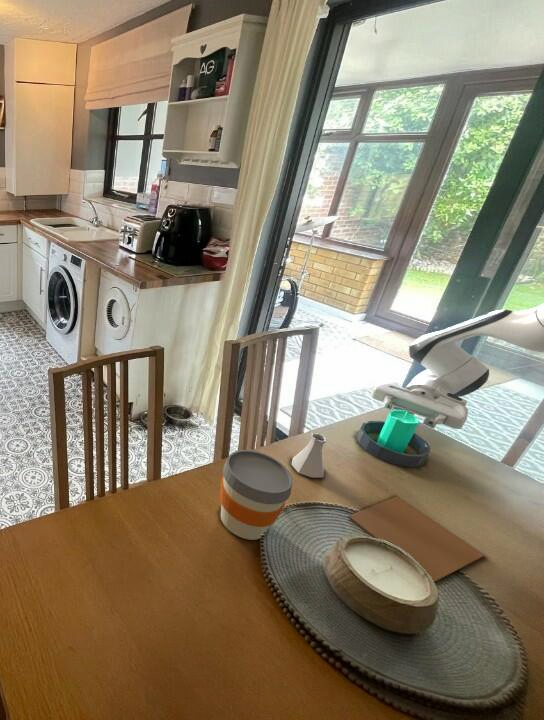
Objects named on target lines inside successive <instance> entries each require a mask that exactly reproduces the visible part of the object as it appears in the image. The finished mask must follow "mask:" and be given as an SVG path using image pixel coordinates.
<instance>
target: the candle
mask: <svg viewBox="0 0 544 720" xmlns="http://www.w3.org/2000/svg"><path fill="white" fill-rule="evenodd" d="M384 422H385V424H384V426H383V428H382V431H381V433H379V435H378V438H377V440H376V442H377V443H378V444H380V445H382V446H384V447H386V448H389V449H391V450H394V451H396V452H401V453H405V451H406V449H407V448H408V446H409V445H410V444H409V442H410V440H411V438H412V436H413V434H414V433H416V430H417V428H418V425H419V424H420V419H419V418H417V417H416V416H415V414H413V413H411V412H408V411H406V410H403V409H391V411H389V413H388V415H387V418H386V420H385V421H384Z"/></svg>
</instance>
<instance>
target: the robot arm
mask: <svg viewBox="0 0 544 720" xmlns="http://www.w3.org/2000/svg"><path fill="white" fill-rule="evenodd" d="M476 336H483V337H484V336H485V337H490V338H493V339H497V340H500V341H503V342H505V343H508V344H511V345H513V346H515V347H518V348H520V349H523V350H527V351H531V352H536V353H544V303H542V304H540V305H538V306H536V307H532V308H529V309H522V310H510V309H504V308H503V309H499V310H494V311H490V312H487V313H485V314H484V313H483V314H482V315H478V316H476V317H473V318H470V319H468V320H465V321H463V322H459V323H457V324H453V325H451V326H449V327H446V328H443V329H440V330H436V331H433V332H429V333H426V334H423V335H420V337H417V338H416V339H414V340H413V341H412V342H411V343H410V344H409V345H408V355H409V358H410V359H412V360H413V361H415V362H416V363H418V364H420V365H421V366H423V367H424V368H425V370H422V371H420V372H419V373H418V374H416V375H415V376H414V377H413V378H412V379H411V380H410V382H409V383H408V384H407V385H406V386H405V387H403V386H400V385H397V384H395V383H391V382H388V381H383V382H377V384H376V385H374V386H373V388H372V390H371V393H370V397H371V398H372V399H374V400H376V401H379V402H382V403H383V405H384V408H385V409H388V410H393V407H395V408H398V409H399V410H405V411H407V412H409V413H411V414H413V415H417V416H419V417H423V418H424V419H428V421H427V425H429V426H433V427H435V426H436V425H443V426H447V427H449V428H451V429H454V430H461V429H462V428H463V426H464V425H465V423H466V421H467V420H468V416H469V410H468V408H467V404H468V401H467V400H466V399H464V398H462V397H465V396H467V395H469V394H472V393H474V392H475V391H477V390H479V389H480V388H481V387H482V386H484V385H485V384H486V383H487V381H488V379H489V377H490V368H488V367H487V366H486V365H484V364H483V362H481V361H480V360H478V359H476V358H475V356H473V355H471V354H470V353H469V352H467V351H466V350H465V349H463V348H462V347H461V346H460V345H458V344H457V343H458V342H461V341H464V340H467V339H470V338H473V337H476Z"/></svg>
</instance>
